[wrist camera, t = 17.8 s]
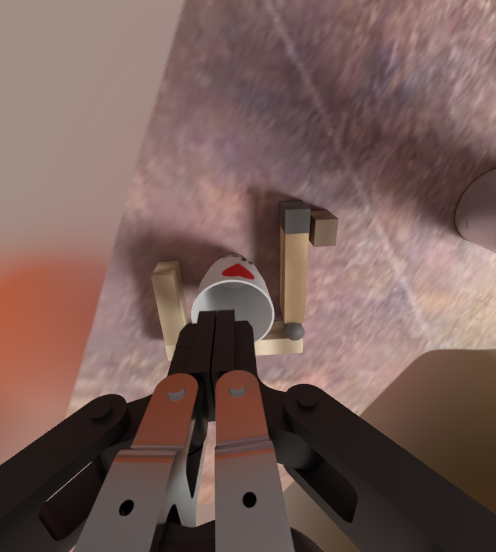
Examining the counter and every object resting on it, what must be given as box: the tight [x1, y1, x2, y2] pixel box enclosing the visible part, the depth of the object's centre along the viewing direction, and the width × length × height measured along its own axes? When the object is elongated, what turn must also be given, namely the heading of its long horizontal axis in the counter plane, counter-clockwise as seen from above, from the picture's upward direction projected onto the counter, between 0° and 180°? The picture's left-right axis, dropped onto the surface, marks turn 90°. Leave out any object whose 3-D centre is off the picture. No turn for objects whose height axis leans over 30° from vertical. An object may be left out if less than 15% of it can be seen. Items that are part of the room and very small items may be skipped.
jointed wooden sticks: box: [151, 210, 338, 361], centre depth 36 cm, size 21×18×4 cm
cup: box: [191, 254, 274, 344], centre depth 32 cm, size 8×8×10 cm
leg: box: [279, 200, 311, 341], centre depth 34 cm, size 3×16×5 cm, turn 3°
